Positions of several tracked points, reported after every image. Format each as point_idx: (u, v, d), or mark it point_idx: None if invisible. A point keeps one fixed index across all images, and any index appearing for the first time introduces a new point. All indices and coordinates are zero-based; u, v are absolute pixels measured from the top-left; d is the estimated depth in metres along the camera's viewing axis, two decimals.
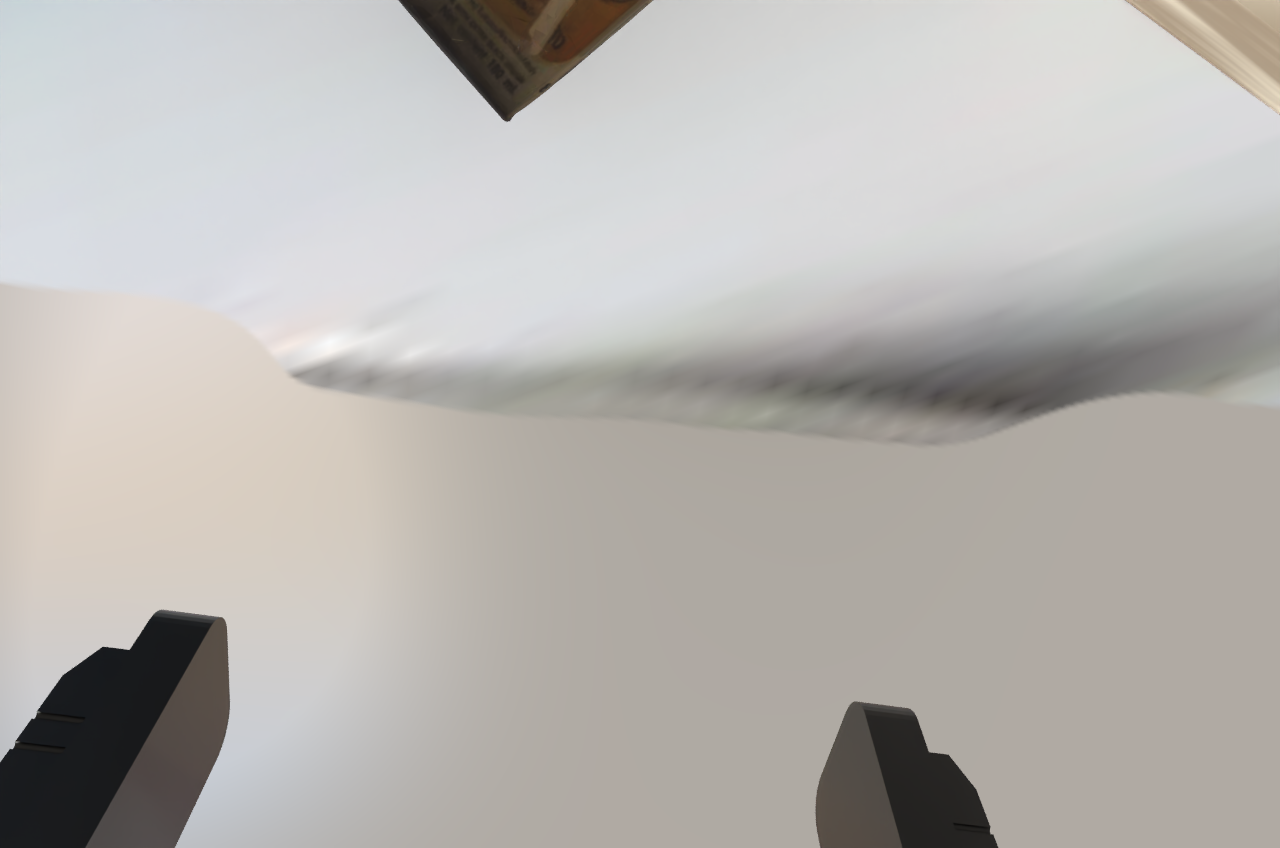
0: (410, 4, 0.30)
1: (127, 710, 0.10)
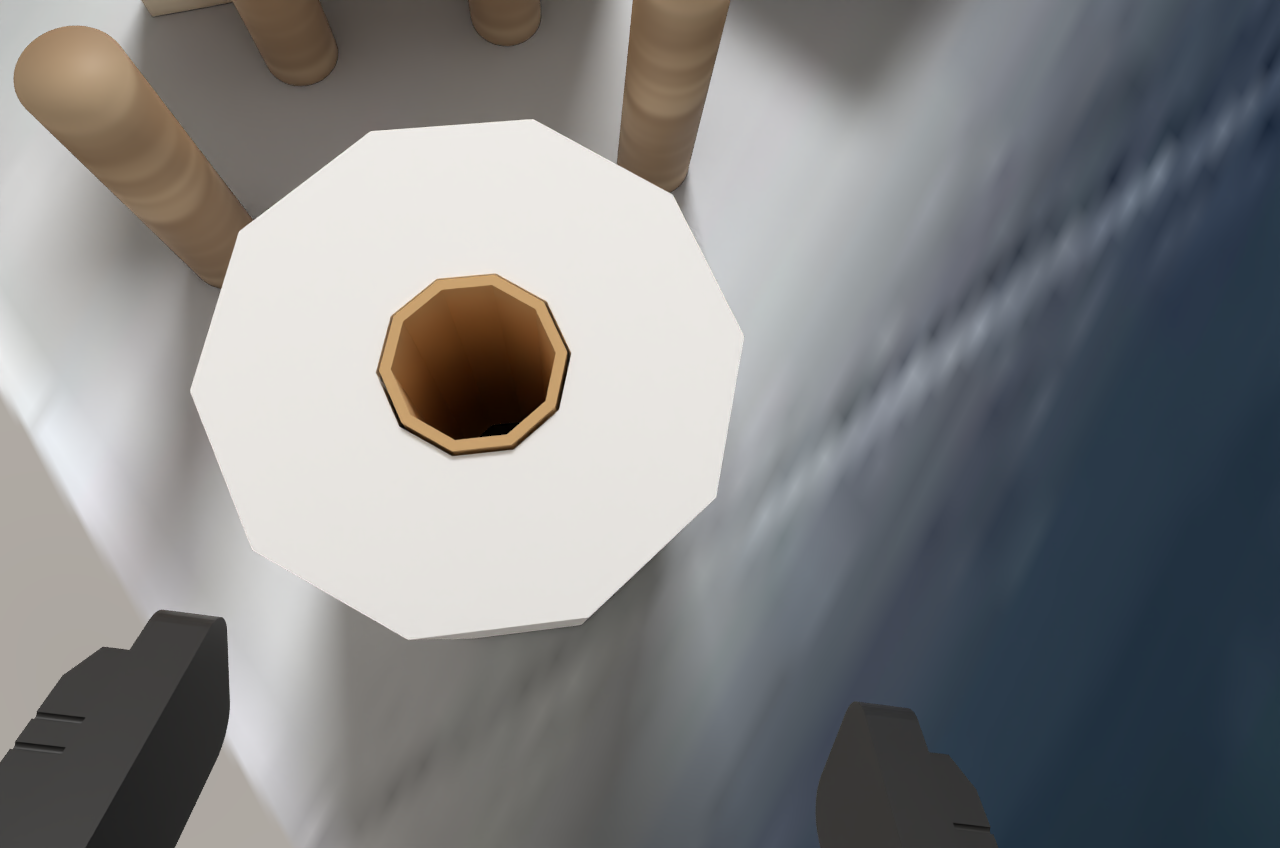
0: None
1: (127, 710, 0.10)
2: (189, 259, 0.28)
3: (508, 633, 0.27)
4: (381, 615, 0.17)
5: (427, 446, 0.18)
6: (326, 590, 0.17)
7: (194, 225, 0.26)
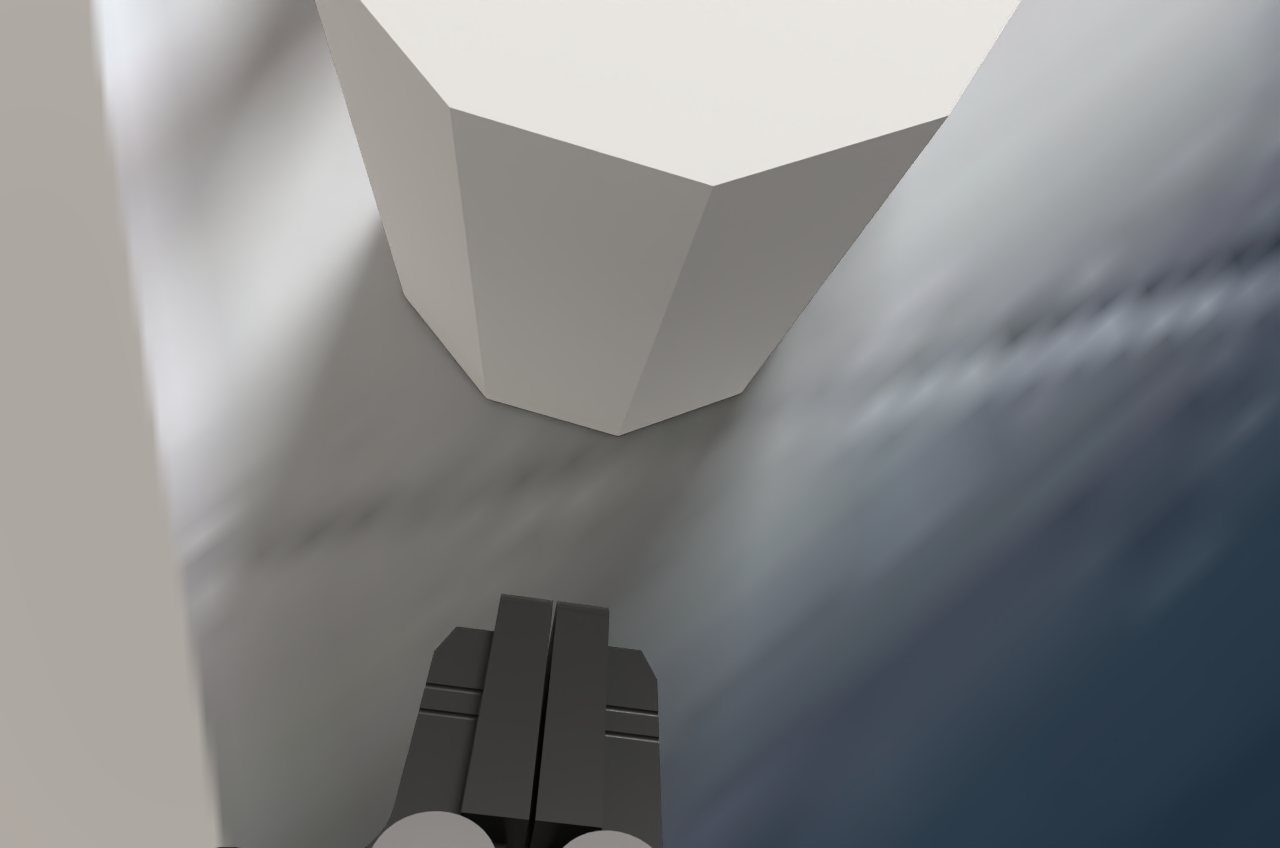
0: None
1: (515, 680, 0.11)
2: None
3: (534, 389, 0.21)
4: (426, 62, 0.11)
5: None
6: (365, 0, 0.11)
7: None
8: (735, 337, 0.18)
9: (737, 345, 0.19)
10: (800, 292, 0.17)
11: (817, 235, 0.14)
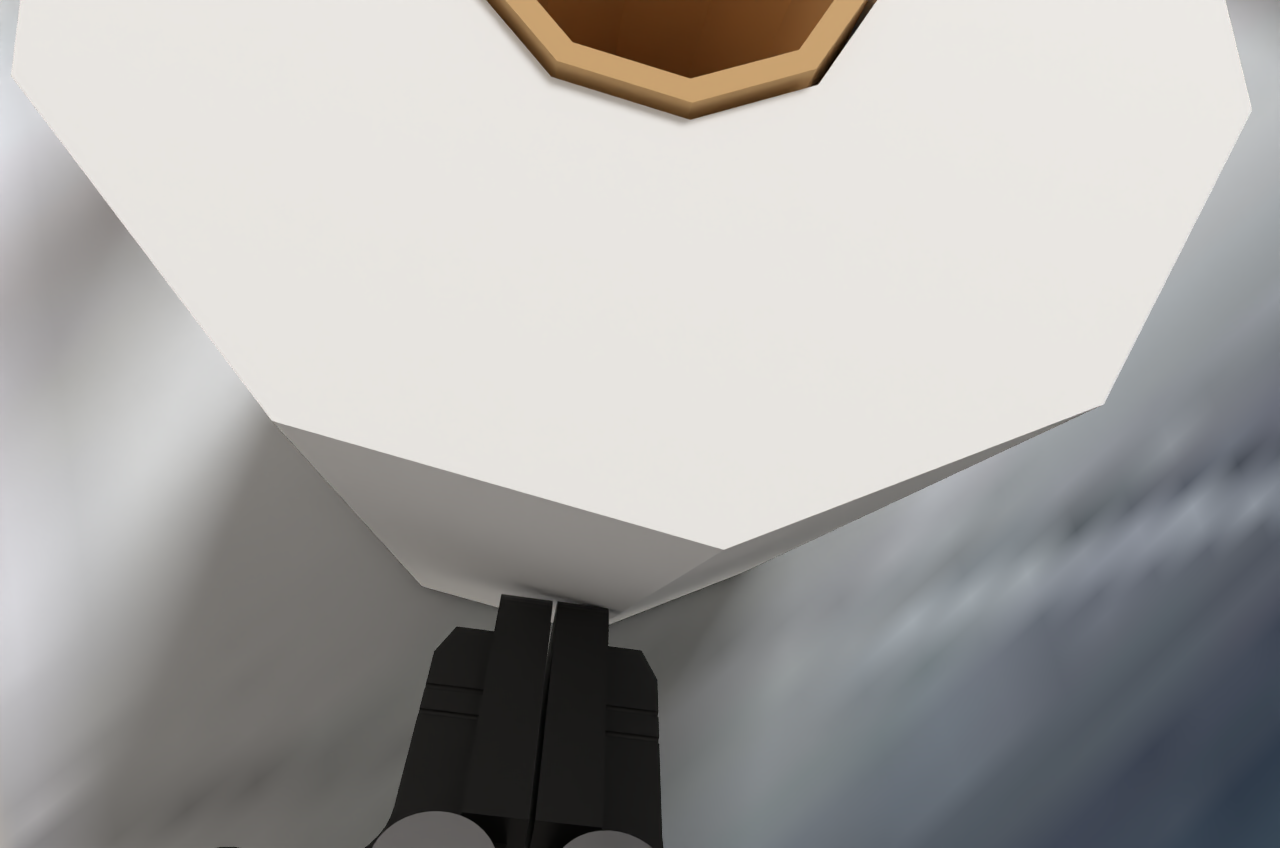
0: None
1: (515, 680, 0.11)
2: None
3: (478, 595, 0.16)
4: (235, 338, 0.07)
5: (506, 34, 0.08)
6: (133, 228, 0.07)
7: None
8: (741, 566, 0.14)
9: (742, 566, 0.14)
10: (832, 528, 0.12)
11: (868, 508, 0.10)
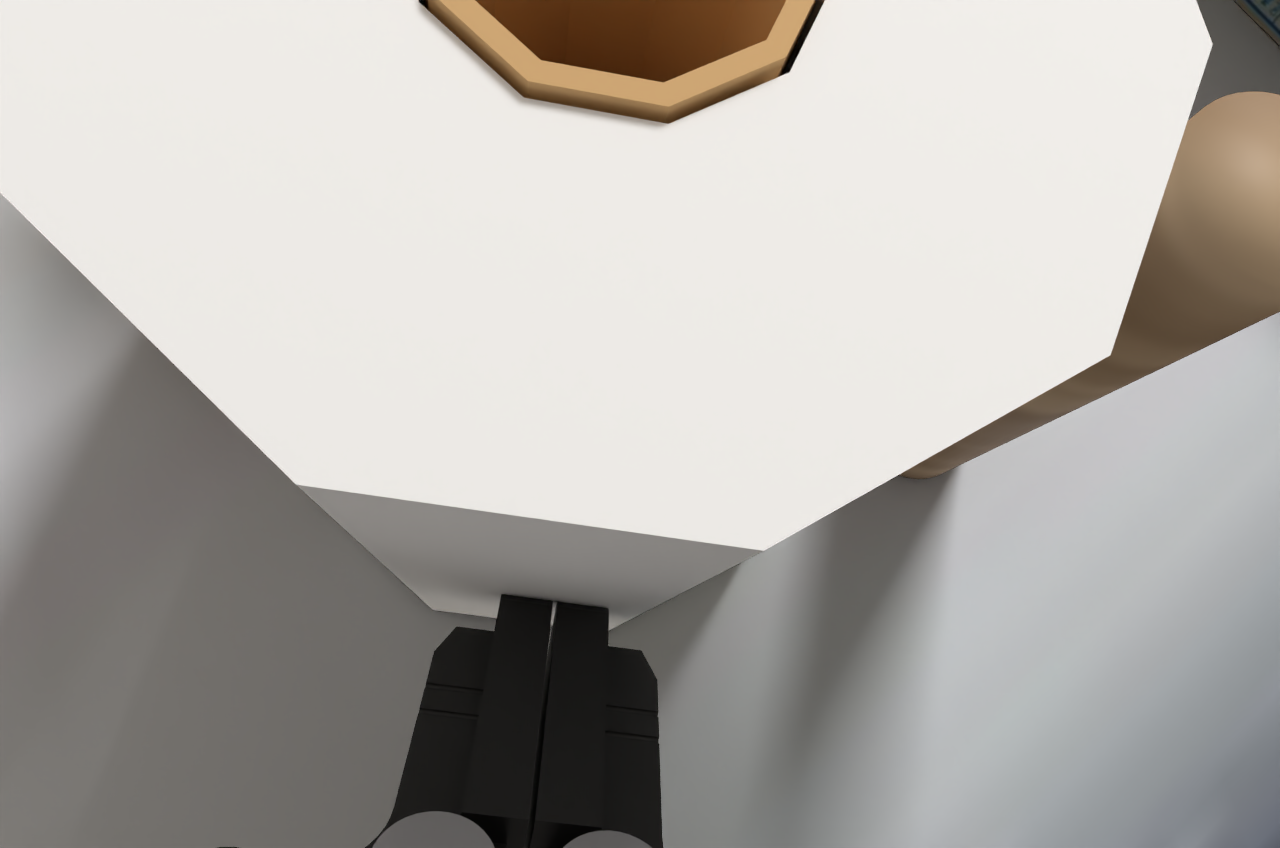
0: None
1: (515, 680, 0.11)
2: None
3: (493, 611, 0.16)
4: (246, 405, 0.07)
5: (472, 60, 0.07)
6: (125, 307, 0.07)
7: None
8: None
9: None
10: None
11: None
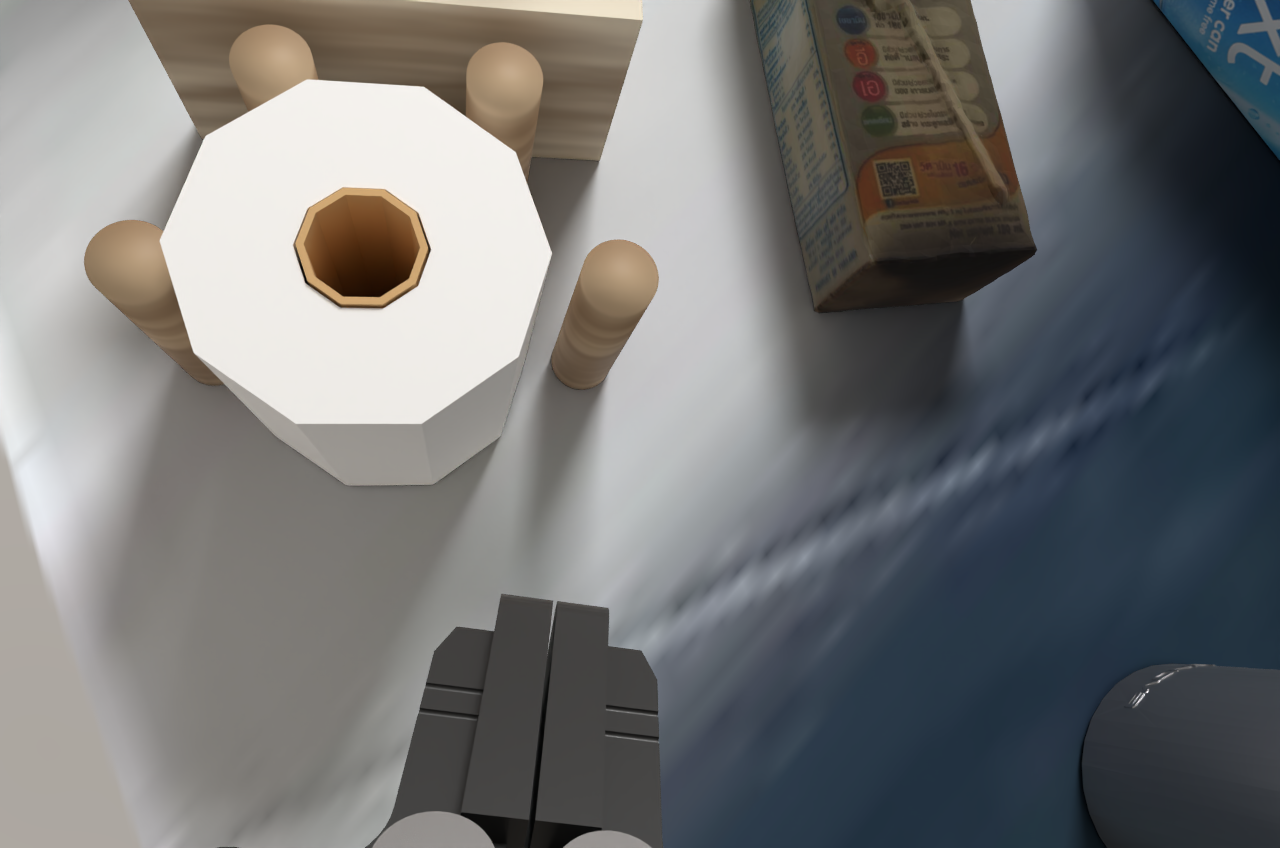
0: (935, 255, 0.37)
1: (515, 680, 0.11)
2: (182, 365, 0.34)
3: (373, 478, 0.35)
4: (279, 405, 0.25)
5: (323, 298, 0.26)
6: (242, 384, 0.25)
7: None
8: (474, 431, 0.33)
9: (479, 431, 0.34)
10: (498, 406, 0.32)
11: (488, 398, 0.29)
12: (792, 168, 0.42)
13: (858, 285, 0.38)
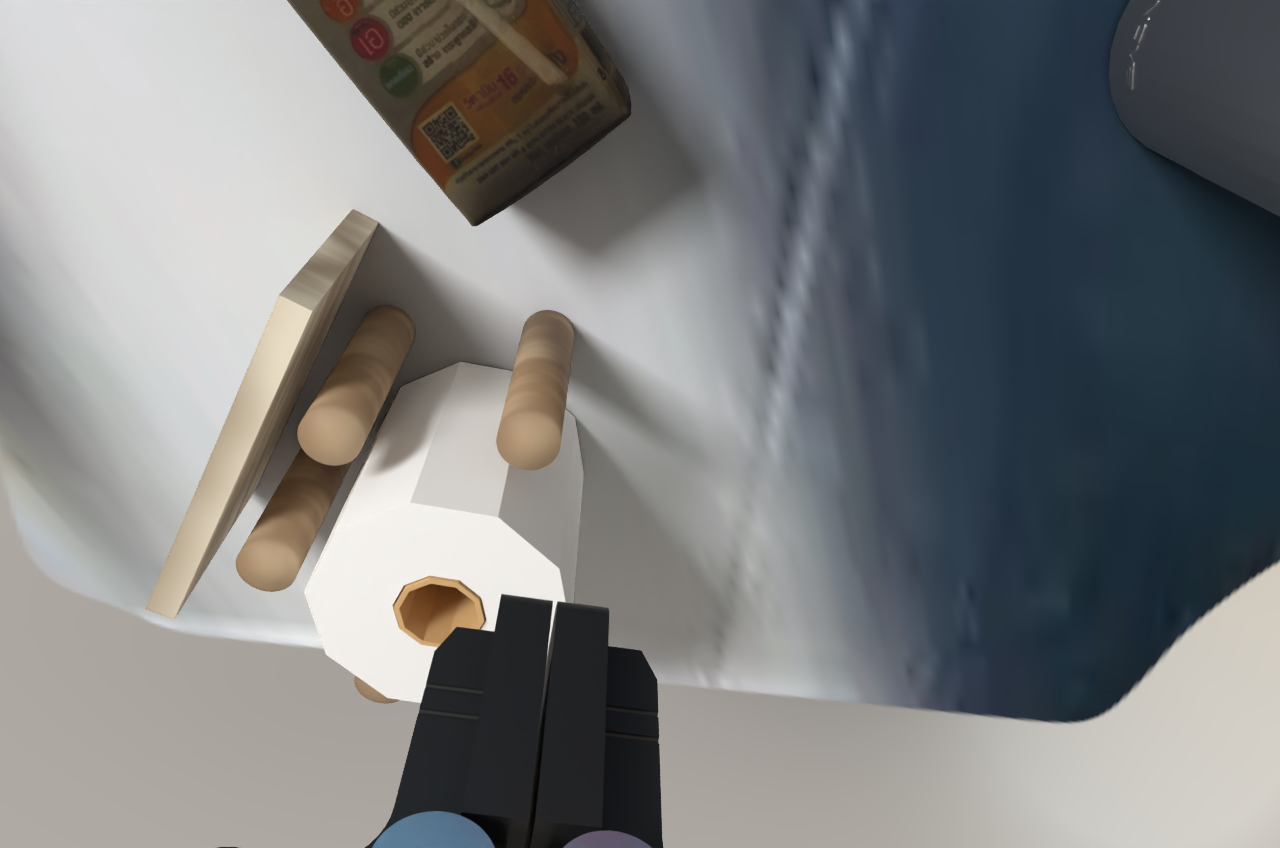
0: (527, 184, 0.36)
1: (515, 680, 0.11)
2: None
3: None
4: None
5: None
6: None
7: None
8: (573, 498, 0.43)
9: (573, 487, 0.44)
10: (568, 499, 0.41)
11: (566, 545, 0.39)
12: None
13: None
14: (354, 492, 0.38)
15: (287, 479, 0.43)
